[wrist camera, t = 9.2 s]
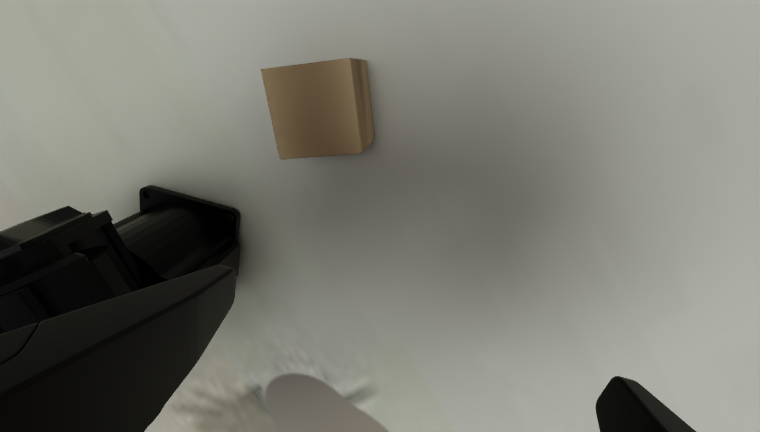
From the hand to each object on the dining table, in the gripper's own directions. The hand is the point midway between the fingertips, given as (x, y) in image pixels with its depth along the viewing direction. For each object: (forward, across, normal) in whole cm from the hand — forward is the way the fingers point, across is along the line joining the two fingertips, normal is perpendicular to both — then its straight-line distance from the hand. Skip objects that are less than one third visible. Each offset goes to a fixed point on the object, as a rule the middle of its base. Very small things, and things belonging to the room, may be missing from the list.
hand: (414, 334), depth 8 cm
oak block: (+13, +6, -3) cm, 15 cm away
